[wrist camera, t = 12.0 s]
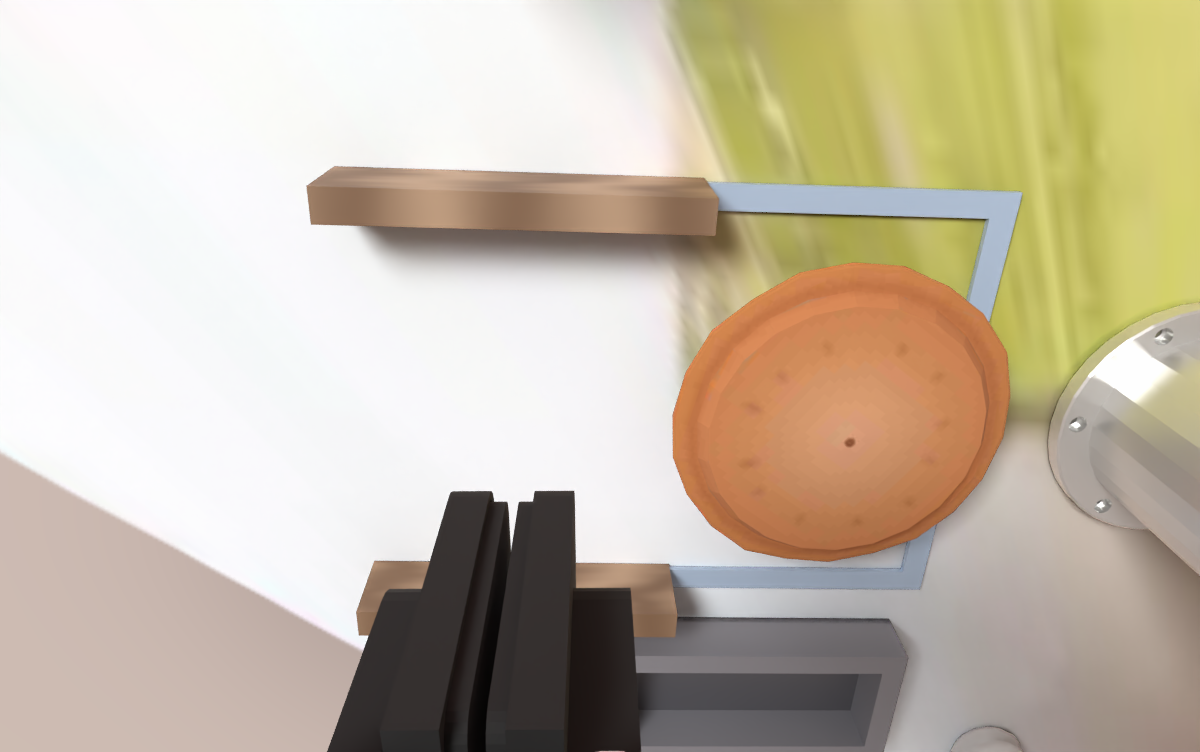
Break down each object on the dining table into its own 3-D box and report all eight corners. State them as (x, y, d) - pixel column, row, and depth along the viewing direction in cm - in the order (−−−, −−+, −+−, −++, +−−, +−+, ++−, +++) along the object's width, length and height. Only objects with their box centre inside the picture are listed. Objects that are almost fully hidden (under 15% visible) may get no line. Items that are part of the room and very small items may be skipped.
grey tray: (888, 618, 46) (908, 657, 44) (864, 719, 50) (881, 761, 47) (611, 616, 46) (613, 656, 43) (605, 719, 49) (607, 761, 46)
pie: (637, 278, 37) (647, 316, 33) (974, 210, 36) (1031, 240, 32) (688, 543, 44) (701, 606, 39) (974, 491, 43) (1022, 549, 38)
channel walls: (704, 178, 35) (719, 198, 32) (666, 585, 45) (675, 637, 41) (334, 166, 35) (306, 185, 31) (376, 583, 44) (358, 635, 40)
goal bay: (1019, 191, 36) (1022, 192, 36) (917, 586, 45) (919, 589, 45) (681, 180, 35) (681, 182, 35) (649, 583, 45) (649, 586, 44)
